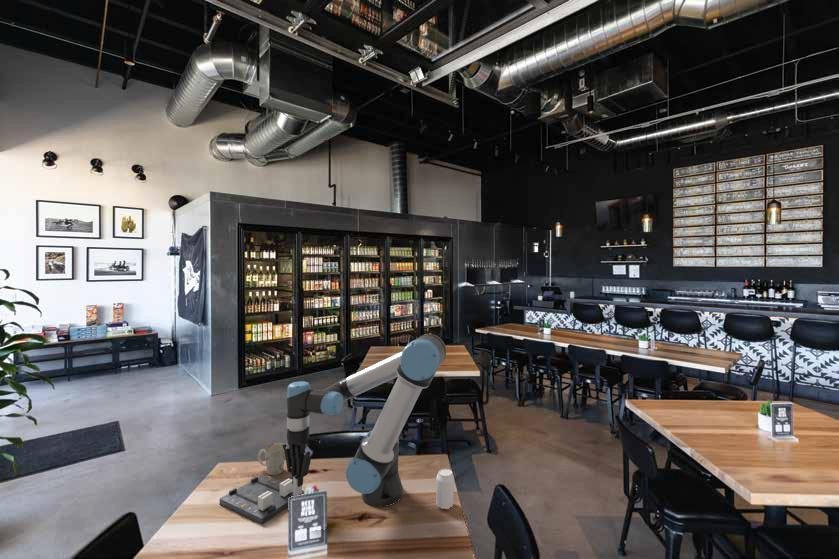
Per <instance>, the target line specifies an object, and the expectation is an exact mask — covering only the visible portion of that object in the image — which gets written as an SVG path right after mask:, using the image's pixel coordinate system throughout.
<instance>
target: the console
mask: <svg viewBox="0 0 839 559" xmlns="http://www.w3.org/2000/svg"><path fill="white" fill-rule="evenodd" d="M282 482H283V481H280V480H278V479H275V478H274V477H273V478H272V477H270V476H267V475H265V474H262V475H260V476H259V477H258V476H255V477H253V478H251V479H250V481H249V482H246V483H245V484H244V485H242V486H239V487H238V488H236V487H234V488H232V489H231V490H229V491H228V493H226V494H225V495H223V496H222V497H219V505H220V506H223V507H224V508H227V509H229V510H230V511H233V512H235V513H237V514H239V515H241V516H243V517H244V518H245V517H246V518H247V519H249V520H251V521H253V522H256V523H257V524H259V525H262V526H263V525H264V524H265V523H267V522H269V520H271V519H274V518H275V517H276V516H277V515H279V514H280V513H282V512H283V511H284V510H287V508H289V507H288V498H289V497H291V496H293V492H291V493H290V494H288V495H287V496H285V497H283V496H281V495H280V483H282ZM267 491H270V492H272V493H273V505H271V506H269V507H268V508H266V509H265V510H263V511H262V510H260V509H258V496H260V495H262V494H263V493H265V492H267ZM301 494H304V495H305V490H304V489H302V493H301ZM301 494H300V495H301Z"/></svg>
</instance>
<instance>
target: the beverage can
mask: <svg viewBox="0 0 839 559" xmlns="http://www.w3.org/2000/svg"><path fill="white" fill-rule="evenodd" d="M435 479H436V480H435V484H436V485H435V486H436V488H435V490H436V491H435V501H436V502H435V504H437V505H436V507H437V506H439V507H441V508H450V507H451V506H452V505H453V504H454V505H455V477H454V474H453V471H452V470H451V469H449V468H441V469H439V470H438V472H437V475H436V477H435ZM439 507H438V508H439Z"/></svg>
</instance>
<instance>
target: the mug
mask: <svg viewBox="0 0 839 559" xmlns="http://www.w3.org/2000/svg"><path fill="white" fill-rule="evenodd" d="M283 444H285V443H283V442H274V443H269V444H268V445H266V446H265V447H264V449H260V450H259V451H258V453H257V458H256V459H257V461H258V463H259V464H260V465H261V466H263V467H265V468H266V472H267V475H269V476H277V475H280V474H281V473H282V472H284V467H285V461H286V458H285V451H284V449H283ZM263 453H264V458H265V462H263V461H262V459H261V456H262V454H263Z"/></svg>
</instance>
